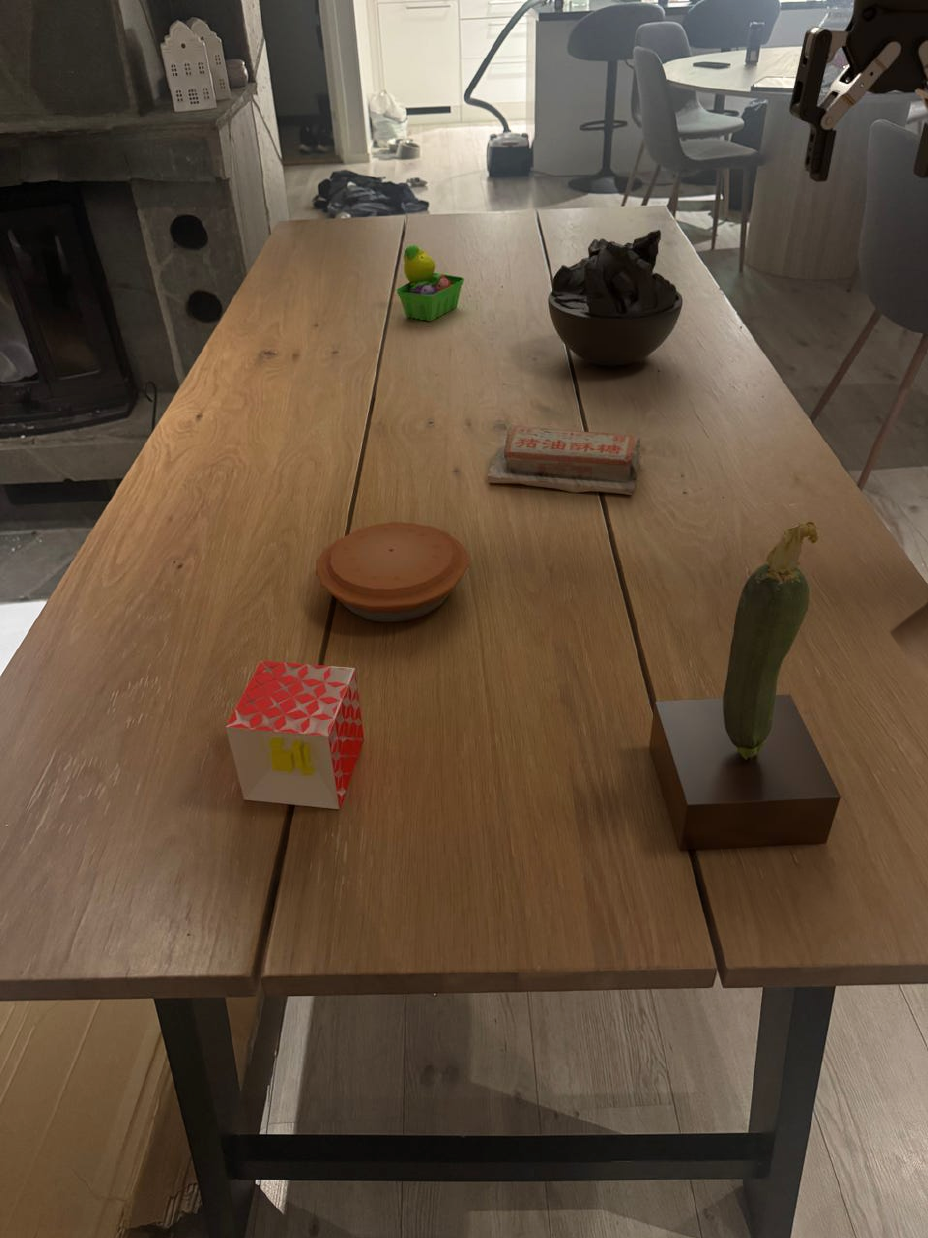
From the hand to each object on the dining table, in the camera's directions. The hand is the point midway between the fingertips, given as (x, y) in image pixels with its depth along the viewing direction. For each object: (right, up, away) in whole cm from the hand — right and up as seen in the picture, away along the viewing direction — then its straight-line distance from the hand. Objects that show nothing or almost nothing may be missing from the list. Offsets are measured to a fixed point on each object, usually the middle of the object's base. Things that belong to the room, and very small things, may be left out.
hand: (870, 177), depth 74 cm
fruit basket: (-39, +20, +92) cm, 102 cm away
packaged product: (-20, -17, +42) cm, 49 cm away
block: (-12, -49, -2) cm, 50 cm away
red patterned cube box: (-46, -48, +2) cm, 66 cm away
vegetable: (-12, -45, -4) cm, 47 cm away
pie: (-40, -33, +22) cm, 56 cm away
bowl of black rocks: (-10, +5, +71) cm, 72 cm away
